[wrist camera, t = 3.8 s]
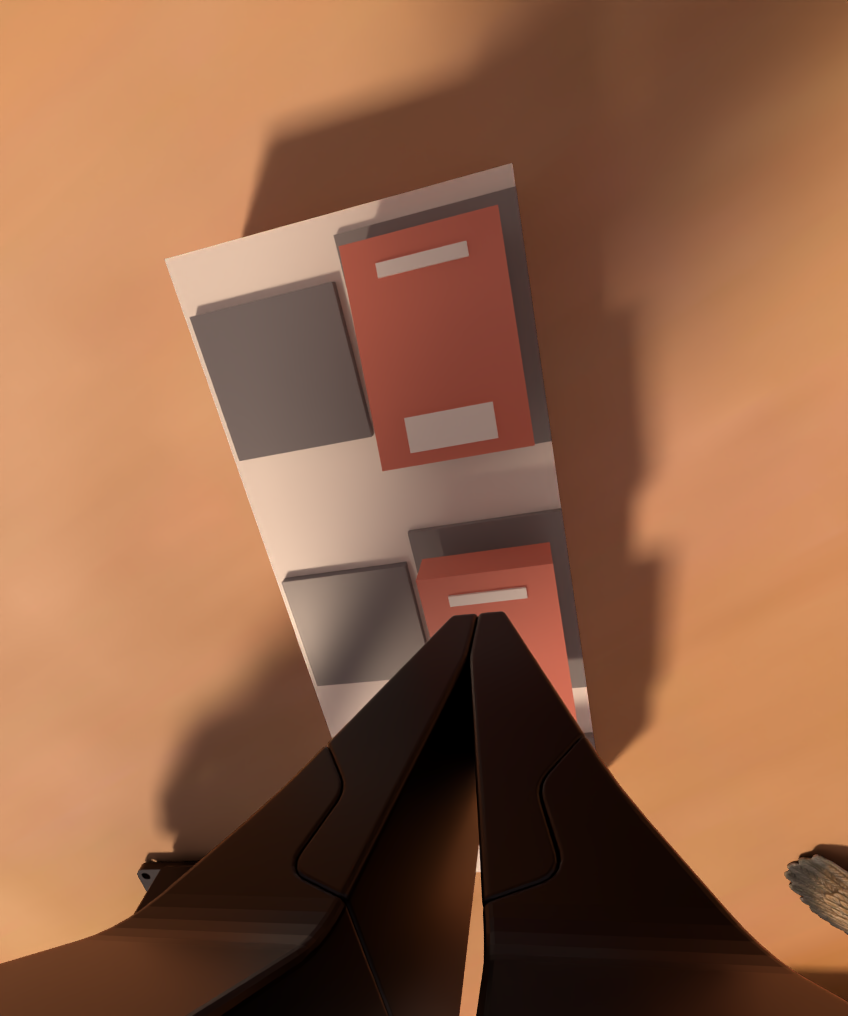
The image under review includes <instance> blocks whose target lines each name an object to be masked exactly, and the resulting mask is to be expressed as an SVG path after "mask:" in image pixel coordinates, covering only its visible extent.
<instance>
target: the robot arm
mask: <svg viewBox="0 0 848 1016" xmlns="http://www.w3.org/2000/svg"><path fill="white" fill-rule="evenodd" d="M478 849H479V850H480V869H481V887H482V904H483V924H484V965H483V973H482V980H481V987H480V993H479V1000H478V1007H477V1014H476V1016H848V1002H847V1001H845V1000H844V999H842V998H840V997H838V996H837V995H835V994H833V993H831V992H830V991H828V990H826V989H824V988H823V987H821V986H819V985H817V984H816V983H814V982H812V981H810V980H809V979H807V978H805V977H803V976H802V975H800V974H798V973H797V972H795V971H794V970H792V969H791V968H789V967H788V966H787V965H785V964H784V963H783V962H781V961H780V960H779V959H777V958H776V957H775V956H774V955H772V954H771V953H770V952H769V951H768V950H767V949H765V948H764V947H763V946H762V945H761V944H760V943H759V942H758V941H756V940H755V939H754V938H753V937H752V936H751V935H750V934H749V933H748V932H747V931H746V930H745V929H744V928H743V927H742V925H741V924H740V923H739V922H738V921H737V920H736V919H735V918H734V917H733V916H732V915H731V913H730V912H729V911H728V910H727V909H726V908H725V907H724V906H723V904H722V903H721V902H720V901H719V900H718V899H717V898H716V897H715V895H714V894H713V893H712V892H711V891H710V890H709V889H708V887H707V886H706V885H705V884H704V883H703V882H702V881H701V879H700V878H699V877H698V876H697V875H696V874H695V873H694V871H693V870H692V869H691V868H690V867H689V866H688V865H687V863H686V862H685V861H684V860H683V859H682V858H681V857H680V856H679V854H678V853H677V852H676V851H675V850H674V849H673V848H672V846H671V845H670V844H669V843H668V842H667V841H666V840H665V838H664V837H663V836H662V835H661V834H660V833H659V832H658V830H657V829H656V828H655V827H654V826H653V825H652V824H651V822H650V821H649V820H648V819H647V818H646V817H645V815H644V814H643V813H642V812H641V811H640V809H639V808H638V807H637V806H636V804H635V803H634V802H633V801H632V800H631V798H630V797H629V796H628V795H627V794H626V792H625V791H624V790H623V789H622V787H621V786H620V785H619V783H618V782H617V781H616V779H615V778H614V776H613V775H612V774H611V772H610V771H609V769H608V768H607V767H606V765H605V764H604V762H603V761H602V760H601V758H600V757H599V755H598V754H597V752H596V750H595V749H594V747H593V746H592V744H591V743H590V741H589V740H588V739H587V738H585V734H584V733H583V731H582V730H581V728H580V727H579V725H578V723H577V722H576V720H575V719H574V717H573V716H572V714H571V713H570V711H569V710H568V708H567V707H566V705H565V704H564V702H563V701H562V699H561V697H560V696H559V694H558V693H557V691H556V690H555V688H554V687H553V685H552V684H551V682H550V681H549V679H548V678H547V676H546V675H545V673H544V671H543V670H542V668H541V667H540V665H539V664H538V662H537V661H536V659H535V658H534V656H533V655H532V653H531V652H530V650H529V649H528V647H527V645H526V644H525V642H524V641H523V639H522V638H521V636H520V635H519V633H518V632H517V630H516V629H515V627H514V626H513V624H512V623H511V621H510V619H509V618H508V616H507V615H506V614H505V613H504V612H502V611H498V612H487V613H481V614H480V615H479V616H477V615H476V614H464V615H454V616H452V617H451V618H450V619H449V620H448V621H447V622H446V623H445V624H444V625H443V626H442V627H441V628H440V629H439V630H438V631H437V632H436V633H435V634H434V635H433V636H432V637H431V638H430V639H429V640H428V641H427V642H426V643H425V644H424V645H423V646H422V647H421V648H420V649H419V650H418V651H417V652H416V653H415V654H414V655H413V656H412V658H411V659H410V660H409V661H408V662H407V663H406V664H405V665H404V666H403V667H402V668H401V669H400V670H399V671H398V672H397V673H396V674H395V675H394V676H393V677H392V678H391V679H390V680H389V681H388V682H387V683H386V684H385V685H384V686H383V687H382V688H381V689H380V690H379V691H378V692H377V693H376V694H375V695H374V696H373V697H372V698H371V699H370V700H369V702H368V703H367V704H366V705H365V706H364V707H363V708H362V709H361V710H360V711H359V712H358V713H357V714H356V715H355V716H354V717H353V718H352V719H351V720H350V721H349V722H348V723H347V724H346V725H345V726H344V727H343V728H342V729H341V730H340V731H339V732H338V733H337V734H336V735H335V736H334V737H333V738H332V739H331V740H330V741H329V742H328V747H323V748H322V749H321V750H320V751H319V752H318V753H317V754H316V755H315V756H314V758H313V759H312V760H311V761H310V762H309V763H308V764H307V765H306V766H305V767H304V768H303V769H302V770H301V771H299V772H298V773H297V774H296V775H295V776H294V777H293V778H292V779H291V780H290V781H289V782H288V783H287V784H286V785H285V786H284V787H283V788H282V789H281V790H280V791H279V792H278V793H277V794H276V795H274V796H273V797H272V798H271V799H270V800H269V801H268V802H267V803H266V804H264V805H263V806H262V807H261V808H260V809H259V810H258V811H257V812H255V813H254V814H253V815H252V816H251V817H250V818H249V819H248V820H247V821H245V822H244V823H243V824H242V825H241V826H240V827H238V828H237V829H236V830H235V831H234V832H233V833H231V834H230V835H229V836H228V837H227V838H226V839H224V840H223V841H222V842H221V843H220V844H219V845H217V846H216V847H215V848H214V849H213V850H212V851H211V852H209V853H208V854H207V855H206V856H205V857H204V858H202V859H201V860H200V861H199V862H155V863H144V864H142V866H141V867H140V869H139V871H138V873H137V875H138V877H139V879H140V881H141V882H142V884H143V886H144V888H145V890H146V891H147V893H146V894H145V896H144V898H143V899H142V901H141V903H140V905H139V906H138V908H137V910H136V911H135V913H134V915H132V916H131V917H129V918H128V919H126V920H124V921H122V922H120V923H119V924H117V925H115V926H113V927H111V928H109V929H107V930H105V931H102V932H100V933H98V934H96V935H93V936H90V937H88V938H85V939H82V940H79V941H75V942H72V943H69V944H65V945H62V946H59V947H55V948H52V949H48V950H45V951H42V952H38V953H35V954H32V955H28V956H25V957H22V958H18V959H15V960H12V961H8V962H5V963H1V964H0V1016H459V1013H460V1005H461V996H462V987H463V979H464V970H465V961H466V953H467V944H468V935H469V927H470V918H471V909H472V901H473V892H474V883H475V875H476V866H477V857H478Z"/></svg>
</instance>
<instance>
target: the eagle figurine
mask: <svg viewBox="0 0 848 1016" xmlns="http://www.w3.org/2000/svg"><path fill="white" fill-rule="evenodd" d="M787 868H788V869H789V870H788V871H786V872H785V873H784V874H785V877H786V878H787V879H788V880H790V881H791V882H792V883H791V884H789V886H790V888H791V889H792V890H793V891H794V892H795V893H797V894H799V895H801V896H803V897H800V899H801V901H802V902H803V903H805V904H807V905H809V906H810V907H809V908H810V909H811V911H812V912H814V913H816V914H817V915H818V916H819V917H820V918H822V919H823V920H826V921H828V922H829V923H830V924H831V925H832V926H834V927H836V928H838V929H840V930H842V931H844V932H845V933H846V934H847V935H848V871H846V870H844V869H843V868H841V867H840V866H839V865H837V864H835V863H834V862H833V861H831V860H828V859H827V858H825V857H823V856H821V855H819V854H814V855H813V857H812V858H808V857H800V858H799V863H789V864H788V865H787Z"/></svg>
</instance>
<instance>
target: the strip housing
mask: <svg viewBox="0 0 848 1016" xmlns="http://www.w3.org/2000/svg"><path fill="white" fill-rule="evenodd" d="M494 205H498V207H499V214H500V220H501V227H502V233H503V240H504V246H505V253H506V260H507V266H508V273H509V279H510V286H511V292H512V299H513V305H514V312H515V318H516V325H517V331H518V338H519V344H520V351H521V357H522V364H523V370H524V377H525V384H526V390H527V397H528V403H529V410H530V416H531V423H532V429H533V436H534V442H535V445H534V446H528V447H523V448H517V449H511V450H505V451H499V452H493V453H487V454H481V455H476V456H470V457H464V458H458V459H452V460H446V461H440V462H434V463H429V464H423V465H417V466H411V467H405V468H399V469H393V470H387V471H382V467H381V462H380V457H379V451H378V446H377V441H376V436H375V431H374V426H373V421H372V415H371V410H370V405H369V400H368V395H367V390H366V385H365V379H364V374H363V369H362V364H361V359H360V354H359V349H358V343H357V338H356V333H355V328H354V323H353V318H352V313H351V307H350V302H349V297H348V292H347V287H346V282H345V277H344V271H343V266H342V261H341V256H340V251H339V246H342V245H346V244H349V243H353V242H357V241H361V240H365V239H368V238H372V237H376V236H380V235H384V234H387V233H391V232H395V231H399V230H403V229H406V228H410V227H414V226H418V225H422V224H426V223H429V222H433V221H437V220H441V219H445V218H448V217H452V216H456V215H460V214H464V213H467V212H471V211H475V210H479V209H483V208H486V207H490V206H494ZM165 262H166V265H167V268H168V271H169V274H170V276H171V279H172V282H173V285H174V288H175V291H176V294H177V296H178V299H179V302H180V305H181V308H182V311H183V314H184V316H185V319H186V322H187V325H188V328H189V331H190V334H191V336H192V339H193V342H194V345H195V348H196V351H197V354H198V356H199V359H200V362H201V365H202V368H203V371H204V374H205V377H206V379H207V382H208V385H209V388H210V391H211V394H212V397H213V399H214V402H215V405H216V408H217V411H218V414H219V417H220V419H221V422H222V425H223V428H224V431H225V434H226V437H227V439H228V442H229V445H230V448H231V451H232V454H233V457H234V460H235V462H236V465H237V468H238V471H239V474H240V477H241V480H242V482H243V485H244V488H245V491H246V494H247V497H248V500H249V502H250V505H251V508H252V511H253V514H254V517H255V520H256V522H257V525H258V528H259V531H260V534H261V537H262V540H263V542H264V545H265V548H266V551H267V554H268V557H269V560H270V563H271V565H272V568H273V571H274V574H275V577H276V580H277V583H278V585H279V588H280V591H281V594H282V597H283V600H284V603H285V605H286V608H287V611H288V614H289V617H290V620H291V623H292V625H293V628H294V631H295V634H296V637H297V640H298V643H299V646H300V648H301V651H302V654H303V657H304V660H305V663H306V666H307V668H308V671H309V674H310V677H311V680H312V683H313V686H314V688H315V691H316V694H317V697H318V700H319V703H320V706H321V708H322V711H323V714H324V717H325V720H326V723H327V726H328V728H329V731H330V734H331V737H332V738H333V737H334V736H335V735H336V734H337V733H338V732H339V731H340V730H341V729H342V728H343V727H344V726H345V725H346V724H347V723H348V722H349V721H350V720H351V719H352V718H353V717H354V716H355V715H356V714H357V713H358V712H359V711H360V710H361V709H362V708H363V707H364V706H365V705H366V704H367V703H368V702H369V700H370V699H371V698H372V697H373V696H374V695H375V694H376V693H377V692H378V691H379V690H380V689H381V688H382V687H383V686H384V685H385V684H386V683H387V682H388V681H389V680H390V679H391V678H392V677H393V676H394V675H395V674H396V673H397V672H398V671H399V670H400V669H401V668H402V667H403V666H404V665H405V664H406V663H407V662H408V661H409V660H410V659H411V658H412V656H413V655H414V654H415V653H416V652H417V651H418V650H419V649H420V648H421V647H422V646H423V645H424V644H425V643H426V642H427V641H428V640H429V639H430V635H429V631H428V627H427V623H426V619H425V615H424V611H423V608H422V604H421V600H420V596H419V592H418V588H417V584H416V578H417V575H418V572H419V568H420V565H421V562H422V559H427V558H435V557H442V556H450V555H457V554H465V553H472V552H480V551H487V550H494V549H502V548H509V547H517V546H524V545H532V544H539V543H547V542H550V547H551V554H552V560H553V567H554V573H555V580H556V586H557V593H558V599H559V606H560V612H561V619H562V626H563V632H564V639H565V645H566V652H567V658H568V665H569V671H570V678H571V684H572V691H573V698H574V704H575V711H576V717H577V723H578V725H579V727H580V728H581V730H582V731H583V733H584V734H585V738H587V739H588V740H589V741H590V743H591V744H592V746H593V747H594V749H595V742H594V735H593V729H592V722H591V715H590V708H589V701H588V694H587V685H586V678H585V671H584V664H583V657H582V650H581V643H580V636H579V629H578V622H577V614H576V607H575V600H574V593H573V586H572V579H571V572H570V565H569V558H568V551H567V544H566V537H565V530H564V523H563V516H562V509H561V503H560V496H559V489H558V482H557V475H556V468H555V461H554V454H553V447H552V438H551V431H550V424H549V417H548V410H547V403H546V396H545V388H544V381H543V374H542V367H541V360H540V353H539V346H538V339H537V332H536V325H535V318H534V311H533V304H532V297H531V290H530V283H529V275H528V268H527V261H526V254H525V247H524V240H523V233H522V226H521V219H520V212H519V205H518V198H517V191H516V186H515V179H514V172H513V165H512V163H510V164H506V165H503V166H499V167H495V168H492V169H488V170H485V171H481V172H477V173H474V174H470V175H467V176H463V177H459V178H456V179H452V180H449V181H445V182H441V183H438V184H434V185H430V186H427V187H423V188H420V189H416V190H412V191H409V192H405V193H402V194H398V195H394V196H391V197H387V198H383V199H380V200H376V201H373V202H369V203H365V204H362V205H358V206H355V207H351V208H347V209H344V210H340V211H336V212H333V213H329V214H326V215H322V216H318V217H315V218H311V219H308V220H304V221H300V222H297V223H293V224H289V225H286V226H282V227H279V228H275V229H271V230H268V231H264V232H261V233H257V234H253V235H250V236H246V237H242V238H239V239H235V240H232V241H228V242H224V243H221V244H217V245H214V246H210V247H206V248H203V249H199V250H195V251H192V252H188V253H185V254H181V255H177V256H174V257H170V258H167V259H165ZM595 750H596V749H595ZM476 872H481V869H480V850H479V849H478V857H477V866H476Z"/></svg>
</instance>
